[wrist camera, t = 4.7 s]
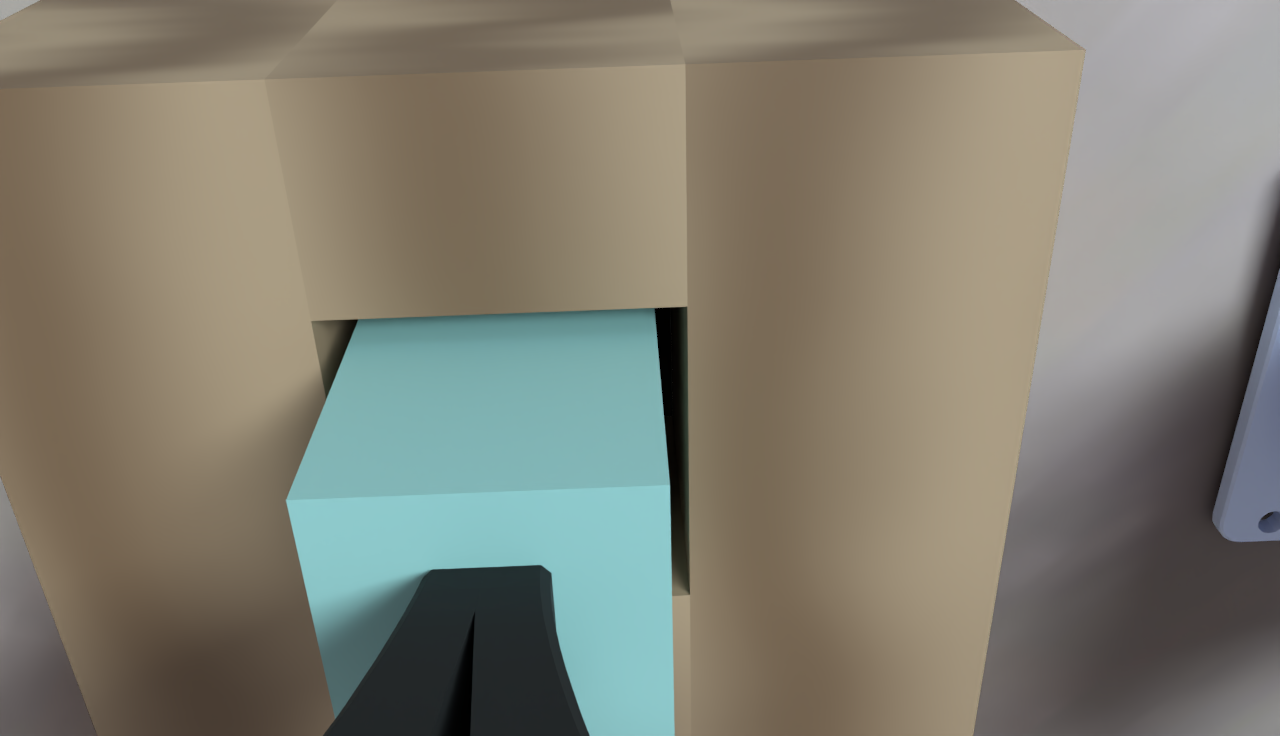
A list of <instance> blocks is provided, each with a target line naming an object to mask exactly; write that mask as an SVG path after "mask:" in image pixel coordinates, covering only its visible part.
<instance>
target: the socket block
mask: <svg viewBox="0 0 1280 736" xmlns="http://www.w3.org/2000/svg"><path fill="white" fill-rule="evenodd" d="M1085 51H1086V50H1085V49H1084V48H1082V47H1081V46H1079V45H1078V44H1077V43H1075V42H1074V41H1072V40H1071V39H1069V38H1068V37H1067V36H1065V35H1064V34H1062V33H1061V32H1059V31H1058V30H1057V29H1055V28H1054V27H1052V26H1051V25H1049V24H1048V23H1047V22H1045V21H1044V20H1042V19H1041V18H1039V17H1038V16H1037V15H1035V14H1034V13H1032V12H1031V11H1029V10H1028V9H1027V8H1025V7H1024V6H1022V5H1021V4H1019V3H1018V2H1017V1H1015V0H40V1H38V2H36V3H34V4H32V5H30V6H28V7H26V8H24V9H23V10H21V11H19V12H17V13H15V14H13V15H11V16H9V17H7V18H5V19H3V20H1V21H0V477H1V479H2V482H3V485H4V487H5V490H6V493H7V495H8V498H9V501H10V503H11V506H12V509H13V511H14V514H15V517H16V519H17V522H18V525H19V527H20V530H21V533H22V536H23V538H24V541H25V544H26V546H27V549H28V552H29V554H30V557H31V560H32V562H33V565H34V568H35V570H36V573H37V576H38V578H39V581H40V584H41V586H42V589H43V592H44V595H45V597H46V600H47V603H48V605H49V608H50V611H51V613H52V616H53V619H54V621H55V624H56V627H57V629H58V632H59V635H60V637H61V640H62V643H63V645H64V648H65V651H66V654H67V656H68V659H69V662H70V664H71V667H72V670H73V672H74V675H75V678H76V680H77V683H78V686H79V688H80V691H81V694H82V696H83V699H84V702H85V704H86V707H87V710H88V713H89V715H90V718H91V721H92V723H93V726H94V729H95V731H96V734H97V736H323V735H324V733H325V732H326V731H327V729H328V728H329V727H330V725H331V724H332V723H333V721H334V720H335V716H334V712H333V707H332V703H331V699H330V694H329V690H328V685H327V681H326V676H325V672H324V667H323V663H322V659H321V654H320V650H319V645H318V641H317V636H316V632H315V627H314V623H313V618H312V614H311V610H310V605H309V601H308V596H307V592H306V587H305V583H304V578H303V574H302V569H301V565H300V561H299V556H298V552H297V547H296V543H295V538H294V534H293V529H292V525H291V521H290V516H289V512H288V507H287V503H286V499H287V496H288V494H289V491H290V489H291V486H292V484H293V481H294V479H295V477H296V474H297V472H298V469H299V467H300V464H301V462H302V459H303V457H304V454H305V452H306V449H307V447H308V444H309V442H310V439H311V437H312V434H313V432H314V429H315V427H316V424H317V422H318V419H319V417H320V414H321V412H322V409H323V407H324V404H325V402H326V399H327V397H328V394H329V392H330V389H331V387H332V384H333V382H334V379H335V377H336V374H337V372H338V369H339V367H340V364H341V362H342V359H343V357H344V354H345V352H346V349H347V347H348V344H349V342H350V339H351V337H352V334H353V332H354V329H355V327H356V324H357V322H358V319H377V318H403V317H429V316H455V315H481V314H507V313H534V312H560V311H586V310H612V309H638V308H664V307H670V317H671V376H672V416H664V423H665V434H666V445H667V457H668V468H669V480H670V514H671V567H672V620H673V674H674V727H675V736H973V733H974V727H975V721H976V715H977V709H978V703H979V697H980V691H981V684H982V678H983V672H984V666H985V660H986V654H987V648H988V642H989V636H990V630H991V624H992V618H993V611H994V605H995V599H996V593H997V587H998V581H999V575H1000V569H1001V563H1002V557H1003V551H1004V544H1005V538H1006V532H1007V526H1008V520H1009V514H1010V508H1011V502H1012V496H1013V490H1014V484H1015V478H1016V471H1017V465H1018V459H1019V453H1020V447H1021V441H1022V435H1023V429H1024V423H1025V417H1026V411H1027V404H1028V398H1029V392H1030V386H1031V380H1032V374H1033V368H1034V362H1035V356H1036V350H1037V344H1038V338H1039V331H1040V325H1041V319H1042V313H1043V307H1044V301H1045V295H1046V289H1047V283H1048V277H1049V271H1050V264H1051V258H1052V252H1053V246H1054V240H1055V234H1056V228H1057V222H1058V216H1059V210H1060V204H1061V198H1062V191H1063V185H1064V179H1065V173H1066V167H1067V161H1068V155H1069V149H1070V143H1071V137H1072V131H1073V124H1074V118H1075V112H1076V106H1077V100H1078V94H1079V88H1080V82H1081V76H1082V70H1083V64H1084V58H1085Z"/></svg>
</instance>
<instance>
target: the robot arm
mask: <svg viewBox="0 0 1280 736" xmlns="http://www.w3.org/2000/svg"><path fill="white" fill-rule="evenodd" d="M1270 512H1273V514H1272V515H1271V516H1270V517H1268V518H1267V519H1264V520H1260V519H1261V518H1262V517H1263V516H1264V515H1266V514H1267V513H1270ZM1212 521H1213V523H1214V525H1215V526H1216V528H1217V529H1218V531H1219V532H1220V533H1221V535H1222V536H1223V537H1224V538H1226V539H1228V540H1229V541H1235V542H1254V541H1278V540H1280V269H1279V273H1278V277H1277V280H1276V284H1275V288H1274V291H1273V295H1272V299H1271V302H1270V306H1269V310H1268V313H1267V317H1266V321H1265V324H1264V328H1263V331H1262V335H1261V339H1260V342H1259V346H1258V350H1257V353H1256V357H1255V361H1254V364H1253V368H1252V372H1251V375H1250V379H1249V383H1248V386H1247V390H1246V394H1245V397H1244V401H1243V404H1242V408H1241V412H1240V415H1239V419H1238V423H1237V426H1236V430H1235V434H1234V437H1233V441H1232V445H1231V448H1230V452H1229V456H1228V459H1227V463H1226V467H1225V470H1224V474H1223V478H1222V481H1221V485H1220V488H1219V492H1218V496H1217V499H1216V503H1215V507H1214V510H1213V519H1212ZM323 736H590V735H589V733H588V730H587V727H586V725H585V722H584V720H583V717H582V714H581V712H580V709H579V706H578V703H577V700H576V697H575V694H574V691H573V688H572V685H571V682H570V679H569V676H568V673H567V670H566V667H565V663H564V660H563V656H562V653H561V649H560V645H559V640H558V636H557V632H556V620H555V608H554V597H553V585H552V573H551V572H549V571H548V570H547V569H546V568H544V567H543V566H542V565H527V566H503V567H479V568H454V569H432V570H431V571H430V572H429V573H427V574H426V575H425V576H424V577H423V579H422V580H421V582H420V584H419V586H418V588H417V590H416V592H415V594H414V596H413V597H412V599H411V601H410V603H409V605H408V606H407V608H406V610H405V612H404V614H403V615H402V617H401V619H400V620H399V622H398V624H397V626H396V627H395V629H394V631H393V632H392V634H391V635H390V637H389V639H388V640H387V642H386V644H385V645H384V647H383V648H382V650H381V652H380V653H379V655H378V657H377V658H376V660H375V661H374V663H373V664H372V666H371V667H370V669H369V670H368V672H367V673H366V675H365V676H364V678H363V679H362V681H361V682H360V684H359V685H358V687H357V688H356V690H355V691H354V693H353V694H352V696H351V697H350V699H349V700H348V702H347V703H346V705H345V706H344V707H343V709H342V710H341V712H340V713H339V715H338V716H337V717H336V719H335V720H334V721H333V723H332V724H331V725H330V727H329V728H328V729H327V731H326V732H325V733H324V735H323Z"/></svg>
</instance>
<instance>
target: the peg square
mask: <svg viewBox="0 0 1280 736" xmlns="http://www.w3.org/2000/svg"><path fill="white" fill-rule="evenodd" d="M286 503H287V507H288V512H289V516H290V521H291V525H292V529H293V534H294V538H295V543H296V547H297V552H298V556H299V561H300V565H301V569H302V574H303V578H304V583H305V587H306V592H307V596H308V601H309V605H310V610H311V614H312V618H313V623H314V627H315V632H316V636H317V641H318V645H319V650H320V654H321V659H322V663H323V667H324V672H325V676H326V681H327V685H328V690H329V694H330V699H331V703H332V707H333V712H334V716H335V719H336V717H337V716H338V715H339V713H340V712H341V710H342V709H343V707H344V706H345V705H346V703H347V702H348V700H349V699H350V697H351V696H352V694H353V693H354V691H355V690H356V688H357V687H358V685H359V684H360V682H361V681H362V679H363V678H364V676H365V675H366V673H367V672H368V670H369V669H370V667H371V666H372V664H373V663H374V661H375V660H376V658H377V657H378V655H379V653H380V652H381V650H382V648H383V647H384V645H385V644H386V642H387V640H388V639H389V637H390V635H391V634H392V632H393V631H394V629H395V627H396V626H397V624H398V622H399V620H400V619H401V617H402V615H403V614H404V612H405V610H406V608H407V606H408V605H409V603H410V601H411V599H412V597H413V596H414V594H415V592H416V590H417V588H418V586H419V584H420V582H421V580H422V579H423V577H424V576H425V575H426V574H427V573H429V572H430V571H431V570H432V569H454V568H479V567H503V566H527V565H542V566H543V567H544V568H546V569H547V570H548V571H549V572H551V573H552V585H553V597H554V608H555V620H556V632H557V636H558V640H559V645H560V649H561V653H562V656H563V660H564V663H565V667H566V670H567V673H568V676H569V679H570V682H571V685H572V688H573V691H574V694H575V697H576V700H577V703H578V706H579V709H580V712H581V714H582V717H583V720H584V722H585V725H586V727H587V730H588V733H589V735H590V736H675V727H674V674H673V620H672V567H671V514H670V480H669V468H668V457H667V445H666V434H665V423H664V411H663V400H662V388H661V377H660V366H659V354H658V343H657V331H656V320H655V308H638V309H612V310H586V311H560V312H534V313H507V314H481V315H455V316H429V317H403V318H377V319H358V322H357V324H356V327H355V329H354V332H353V334H352V337H351V339H350V342H349V344H348V347H347V349H346V352H345V354H344V357H343V359H342V362H341V364H340V367H339V369H338V372H337V374H336V377H335V379H334V382H333V384H332V387H331V389H330V392H329V394H328V397H327V399H326V402H325V404H324V407H323V409H322V412H321V414H320V417H319V419H318V422H317V424H316V427H315V429H314V432H313V434H312V437H311V439H310V442H309V444H308V447H307V449H306V452H305V454H304V457H303V459H302V462H301V464H300V467H299V469H298V472H297V474H296V477H295V479H294V481H293V484H292V486H291V489H290V491H289V494H288V496H287V499H286Z"/></svg>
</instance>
